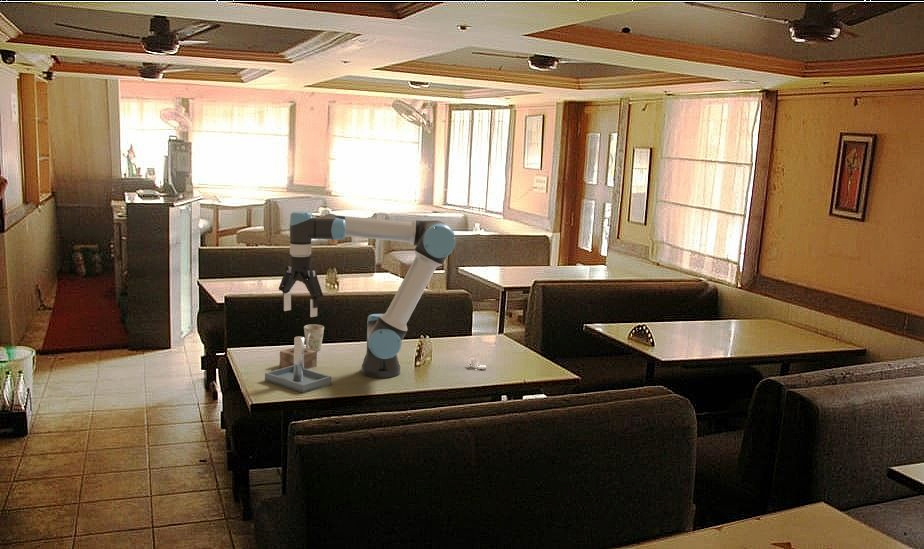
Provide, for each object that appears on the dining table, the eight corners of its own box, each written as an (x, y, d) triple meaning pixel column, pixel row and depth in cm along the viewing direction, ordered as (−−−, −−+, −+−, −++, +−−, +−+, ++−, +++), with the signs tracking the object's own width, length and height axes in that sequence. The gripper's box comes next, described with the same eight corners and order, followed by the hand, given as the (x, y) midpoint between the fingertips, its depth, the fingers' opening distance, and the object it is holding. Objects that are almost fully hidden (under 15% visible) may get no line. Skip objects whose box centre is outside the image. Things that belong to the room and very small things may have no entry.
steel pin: (305, 380, 279) (306, 337, 276) (297, 382, 276) (299, 339, 273) (298, 377, 281) (299, 335, 278) (291, 380, 278) (292, 337, 275)
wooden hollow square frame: (316, 366, 300) (316, 351, 299) (297, 371, 292) (297, 356, 291) (298, 361, 305) (299, 346, 304) (279, 366, 297) (279, 351, 296)
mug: (325, 347, 326) (326, 325, 325) (317, 355, 314) (318, 332, 312) (306, 346, 327) (307, 323, 325) (297, 354, 315) (298, 330, 313)
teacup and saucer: (489, 370, 308) (489, 360, 307) (472, 372, 304) (472, 362, 303) (477, 364, 315) (478, 355, 314) (461, 366, 311) (461, 357, 310)
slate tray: (331, 384, 279) (331, 376, 278) (303, 393, 267) (303, 385, 267) (293, 372, 290) (293, 365, 289) (264, 380, 279) (264, 373, 278)
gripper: (333, 258, 267) (332, 317, 270) (284, 250, 281) (284, 306, 284) (317, 260, 261) (317, 320, 264) (268, 252, 275) (268, 309, 278)
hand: (300, 313), depth 274 cm, fingers open, 13 cm apart
